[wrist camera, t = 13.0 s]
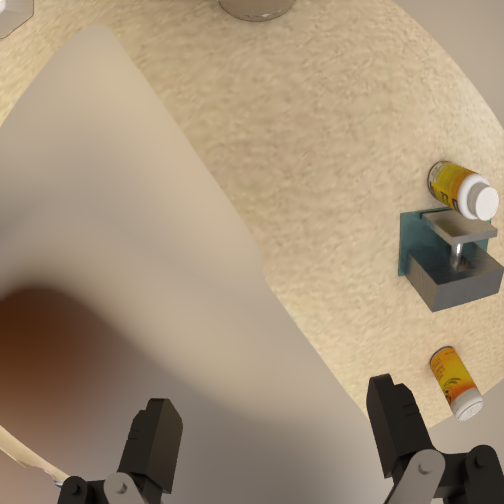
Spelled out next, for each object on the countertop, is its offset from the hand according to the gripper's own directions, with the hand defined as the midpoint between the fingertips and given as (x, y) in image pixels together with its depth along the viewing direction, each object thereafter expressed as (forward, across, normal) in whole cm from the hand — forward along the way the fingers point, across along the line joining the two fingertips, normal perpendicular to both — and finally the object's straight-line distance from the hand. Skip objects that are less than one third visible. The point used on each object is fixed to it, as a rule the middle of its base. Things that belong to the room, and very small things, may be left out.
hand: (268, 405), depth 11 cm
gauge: (+28, -27, +9) cm, 40 cm away
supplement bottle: (+28, -25, 0) cm, 38 cm away
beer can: (+28, -31, +36) cm, 55 cm away
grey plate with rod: (+27, -28, +9) cm, 40 cm away
